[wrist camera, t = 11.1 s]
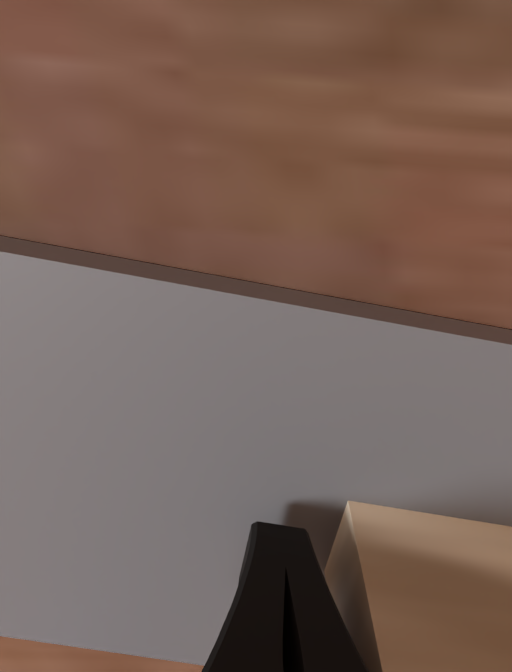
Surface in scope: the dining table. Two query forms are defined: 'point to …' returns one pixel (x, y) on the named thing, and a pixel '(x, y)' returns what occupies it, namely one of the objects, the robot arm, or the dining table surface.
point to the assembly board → (214, 437)
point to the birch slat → (423, 590)
